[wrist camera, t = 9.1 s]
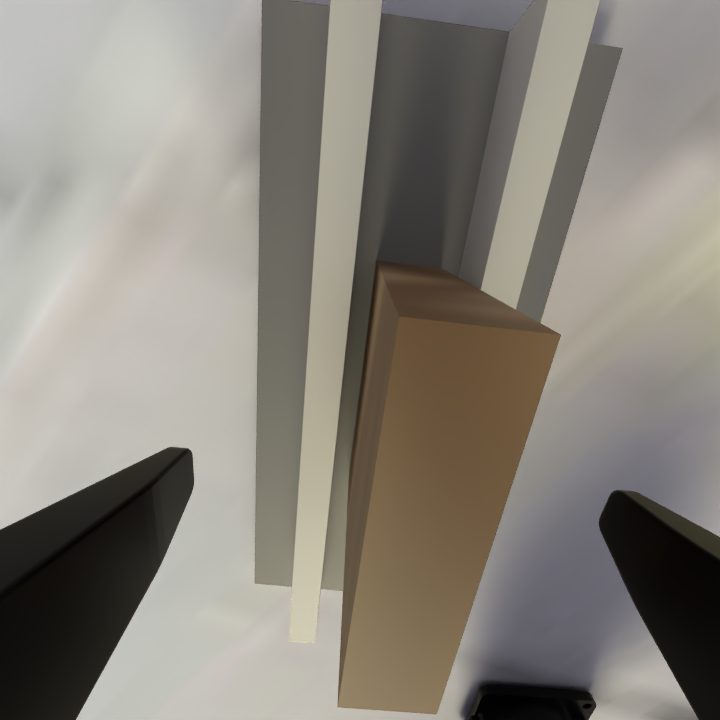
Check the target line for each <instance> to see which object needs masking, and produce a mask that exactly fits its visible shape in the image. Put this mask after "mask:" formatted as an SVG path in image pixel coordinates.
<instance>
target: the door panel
mask: <svg viewBox="0 0 720 720" xmlns="http://www.w3.org/2000/svg"><path fill="white" fill-rule="evenodd" d="M560 336H561V335H560V334H558V333H557V332H555V331H553V330H551V329H550V328H548V327H546V326H544V325H542V324H541V323H539V322H537V321H535V320H533V319H532V318H530V317H528V316H526V315H524V314H523V313H521V312H519V311H517V310H516V309H514V308H512V307H510V306H508V305H507V304H505V303H503V302H501V301H499V300H498V299H496V298H494V297H492V296H491V295H489V294H487V293H485V292H483V291H482V290H480V289H478V288H476V287H474V286H473V285H471V284H469V283H467V282H465V281H464V280H462V279H460V278H458V277H457V276H455V275H453V274H451V273H449V272H448V271H446V270H444V269H442V268H437V267H429V266H420V265H412V264H404V263H395V262H387V261H378V260H376V265H375V273H374V281H373V289H372V297H371V305H370V313H369V321H368V328H367V336H366V344H365V352H364V360H363V368H362V376H361V384H360V392H359V399H358V407H357V415H356V423H355V431H354V439H353V447H352V455H351V462H350V470H349V482H348V503H347V523H346V544H345V564H344V585H343V605H342V626H341V647H340V667H339V688H338V707H342V708H356V709H370V710H384V711H398V712H412V713H426V714H437V712H438V709H439V706H440V703H441V699H442V696H443V693H444V690H445V687H446V684H447V681H448V678H449V675H450V672H451V669H452V666H453V663H454V660H455V657H456V654H457V651H458V648H459V645H460V641H461V638H462V635H463V632H464V629H465V626H466V623H467V620H468V617H469V614H470V611H471V608H472V605H473V602H474V599H475V596H476V593H477V590H478V587H479V583H480V580H481V577H482V574H483V571H484V568H485V565H486V562H487V559H488V556H489V553H490V550H491V547H492V544H493V541H494V538H495V535H496V532H497V529H498V525H499V522H500V519H501V516H502V513H503V510H504V507H505V504H506V501H507V498H508V495H509V492H510V489H511V486H512V483H513V480H514V477H515V474H516V470H517V467H518V464H519V461H520V458H521V455H522V452H523V449H524V446H525V443H526V440H527V437H528V434H529V431H530V428H531V425H532V422H533V419H534V416H535V412H536V409H537V406H538V403H539V400H540V397H541V394H542V391H543V388H544V385H545V382H546V379H547V376H548V373H549V370H550V367H551V364H552V361H553V358H554V354H555V351H556V348H557V345H558V342H559V339H560Z"/></svg>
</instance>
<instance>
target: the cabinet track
mask: <svg viewBox="0 0 720 720" xmlns="http://www.w3.org/2000/svg"><path fill="white" fill-rule="evenodd" d="M382 2H383V0H330V6H326V5H319V4H312V3H305V2H298V1H291V0H262V52H261V129H260V207H259V285H258V362H257V440H256V518H255V584H267V585H279V586H291V587H292V597H291V612H290V628H289V642H302V643H315V636H316V627H317V618H318V609H319V600H320V591H321V589H327V590H339V591H343V585H344V564H345V544H346V523H347V503H348V482H349V470H350V462H351V455H352V447H353V439H354V431H355V423H356V415H357V407H358V399H359V392H360V384H361V376H362V368H363V360H364V352H365V344H366V336H367V328H368V321H369V313H370V305H371V297H372V289H373V281H374V273H375V265H376V260H378V261H387V262H395V263H404V264H412V265H420V266H429V267H437V268H442V269H444V270H446V271H448V272H449V273H451V274H453V275H455V276H457V277H458V278H460V279H462V280H464V281H465V282H467V283H469V284H471V285H473V286H474V287H476V288H478V289H480V290H482V291H483V292H485V293H487V294H489V295H491V296H492V297H494V298H496V299H498V300H499V301H501V302H503V303H505V304H507V305H508V306H510V307H512V308H514V309H516V310H517V311H519V312H521V313H523V314H524V315H526V316H528V317H530V318H532V319H533V320H535V321H537V322H539V323H540V321H541V318H542V315H543V311H544V308H545V305H546V301H547V298H548V295H549V291H550V288H551V285H552V281H553V278H554V275H555V271H556V268H557V265H558V261H559V258H560V255H561V251H562V248H563V245H564V241H565V238H566V235H567V232H568V228H569V225H570V222H571V218H572V215H573V212H574V208H575V205H576V202H577V198H578V195H579V192H580V188H581V185H582V182H583V178H584V175H585V172H586V168H587V165H588V162H589V158H590V155H591V152H592V148H593V145H594V142H595V138H596V135H597V132H598V128H599V125H600V122H601V118H602V115H603V112H604V108H605V105H606V102H607V98H608V95H609V92H610V88H611V85H612V82H613V79H614V75H615V72H616V69H617V65H618V62H619V59H620V55H621V52H622V49H623V48H618V47H611V46H604V45H597V44H590V43H588V42H589V39H590V35H591V31H592V28H593V24H594V20H595V17H596V13H597V9H598V6H599V2H600V0H534V1H533V2H532V4H531V5H530V6H529V7H528V9H527V10H526V11H525V13H524V14H523V15H522V16H521V18H520V19H519V20H518V22H517V23H516V24H515V25H514V27H513V28H512V29H511V31H510V32H507V31H500V30H493V29H486V28H479V27H472V26H465V25H458V24H451V23H444V22H437V21H430V20H423V19H416V18H409V17H402V16H395V15H389V14H382V13H381V12H382Z"/></svg>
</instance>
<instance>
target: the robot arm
mask: <svg viewBox="0 0 720 720" xmlns="http://www.w3.org/2000/svg"><path fill="white" fill-rule="evenodd" d="M193 486H194V472H193V456H192V452H191V450H189V449H188V448H179V447H169V448H166V449H164V450H162V451H160V452H158V453H156V454H154V455H152V456H150V457H148V458H146V459H144V460H142V461H140V462H138V463H136V464H134V465H132V466H130V467H127V468H125V469H123V470H121V471H119V472H117V473H115V474H113V475H111V476H109V477H107V478H105V479H103V480H101V481H99V482H97V483H95V484H93V485H91V486H89V487H87V488H85V489H83V490H81V491H78V492H76V493H74V494H72V495H70V496H68V497H66V498H64V499H62V500H60V501H58V502H56V503H54V504H52V505H50V506H48V507H46V508H44V509H42V510H40V511H38V512H36V513H33V514H31V515H29V516H27V517H25V518H23V519H21V520H19V521H17V522H15V523H13V524H11V525H9V526H7V527H5V528H3V529H1V530H0V720H76V719H77V717H78V715H79V713H80V711H81V709H82V708H83V706H84V704H85V702H86V700H87V699H88V697H89V695H90V693H91V691H92V689H93V688H94V686H95V684H96V682H97V680H98V679H99V677H100V675H101V673H102V671H103V670H104V668H105V666H106V664H107V662H108V660H109V659H110V657H111V655H112V653H113V651H114V650H115V648H116V646H117V644H118V642H119V640H120V639H121V637H122V635H123V633H124V631H125V630H126V628H127V626H128V624H129V622H130V620H131V619H132V617H133V615H134V613H135V611H136V610H137V608H138V606H139V604H140V602H141V601H142V599H143V597H144V595H145V593H146V591H147V590H148V588H149V586H150V584H151V582H152V581H153V579H154V577H155V575H156V573H157V571H158V569H159V567H160V565H161V563H162V561H163V559H164V557H165V554H166V552H167V550H168V547H169V545H170V543H171V540H172V538H173V536H174V533H175V531H176V529H177V526H178V524H179V522H180V519H181V517H182V514H183V512H184V510H185V507H186V505H187V503H188V500H189V498H190V496H191V493H192V490H193ZM599 527H600V531H601V533H602V536H603V538H604V540H605V542H606V544H607V546H608V549H609V551H610V553H611V555H612V557H613V559H614V562H615V564H616V566H617V568H618V570H619V572H620V575H621V577H622V579H623V581H624V583H625V586H626V588H627V590H628V592H629V594H630V596H631V598H632V600H633V602H634V604H635V606H636V608H637V610H638V612H639V614H640V616H641V618H642V619H643V621H644V623H645V625H646V627H647V628H648V630H649V632H650V634H651V635H652V637H653V639H654V641H655V643H656V644H657V646H658V648H659V650H660V651H661V653H662V655H663V657H664V659H665V660H666V662H667V664H668V666H669V667H670V669H671V671H672V673H673V675H674V676H675V678H676V680H677V682H678V684H679V685H680V687H681V689H682V691H683V692H684V694H685V696H686V698H687V700H688V701H689V703H690V705H691V707H692V708H693V710H694V712H695V714H696V716H697V717H698V719H699V720H720V537H719V536H717V535H715V534H713V533H711V532H710V531H708V530H706V529H704V528H702V527H700V526H698V525H697V524H695V523H693V522H691V521H689V520H687V519H685V518H684V517H682V516H680V515H678V514H676V513H674V512H672V511H671V510H669V509H667V508H665V507H663V506H661V505H660V504H658V503H656V502H654V501H652V500H650V499H648V498H647V497H645V496H643V495H641V494H639V493H637V492H634V491H624V490H615V491H613V492H612V493H611V494H610V496H609V498H608V500H607V503H606V505H605V507H604V509H603V512H602V514H601V516H600V519H599ZM595 708H596V703H595V701H594V699H593V697H592V695H591V694H590V693H588V692H580V691H566V690H553V689H539V688H526V687H512V686H499V685H484V686H482V687H480V689H479V690H478V693H477V695H476V698H475V701H474V703H473V706H472V709H471V711H470V714H469V716H468V719H467V720H588V719H589V718H590V716H591V714H592V713H593V711H594V709H595Z"/></svg>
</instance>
